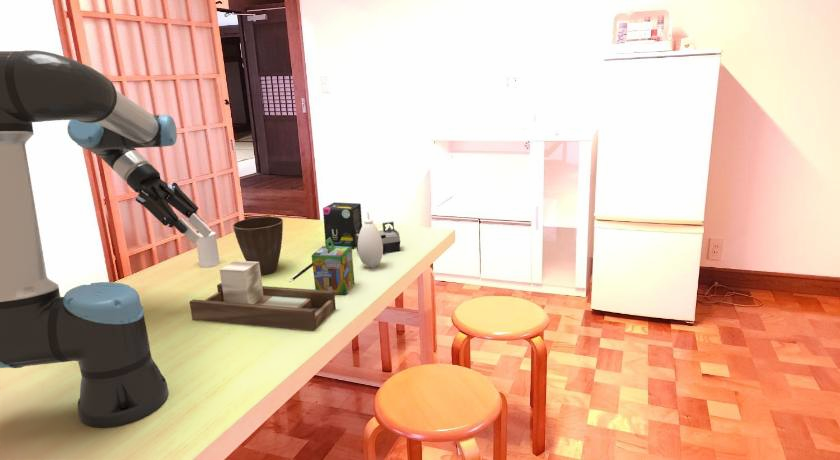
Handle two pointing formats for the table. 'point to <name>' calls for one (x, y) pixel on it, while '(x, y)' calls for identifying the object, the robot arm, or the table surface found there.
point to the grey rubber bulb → (370, 244)
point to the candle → (208, 250)
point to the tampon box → (342, 223)
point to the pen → (300, 273)
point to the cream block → (242, 282)
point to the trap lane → (269, 308)
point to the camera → (388, 239)
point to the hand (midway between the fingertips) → (202, 237)
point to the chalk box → (333, 268)
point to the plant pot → (260, 241)
